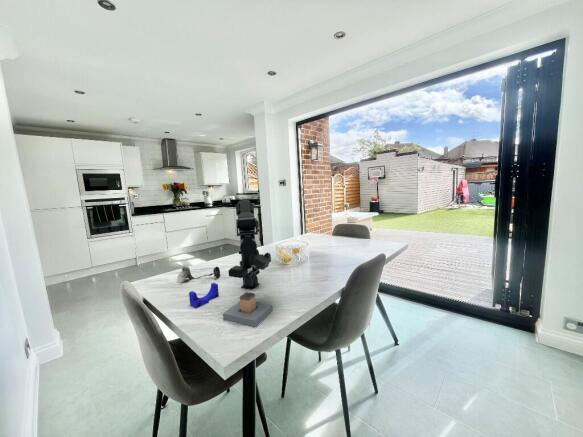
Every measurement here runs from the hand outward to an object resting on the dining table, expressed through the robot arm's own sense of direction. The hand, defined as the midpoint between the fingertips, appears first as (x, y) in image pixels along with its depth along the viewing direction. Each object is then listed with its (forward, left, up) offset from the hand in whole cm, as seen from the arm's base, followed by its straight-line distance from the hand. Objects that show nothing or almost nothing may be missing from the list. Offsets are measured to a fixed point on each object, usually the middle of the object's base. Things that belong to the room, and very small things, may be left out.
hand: (251, 286), depth 95 cm
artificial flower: (-46, +15, -10) cm, 49 cm away
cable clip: (-22, -2, -10) cm, 25 cm away
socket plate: (+2, -5, -9) cm, 11 cm away
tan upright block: (+2, -5, -9) cm, 11 cm away
